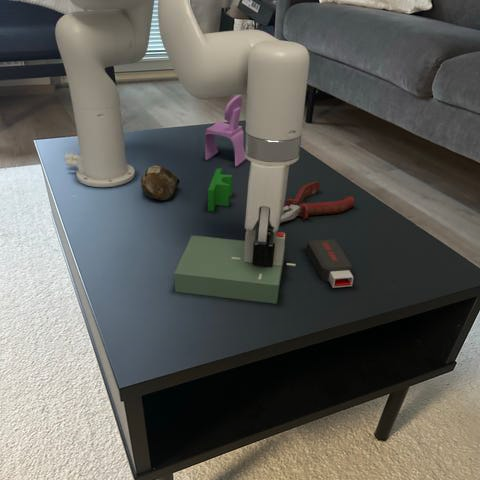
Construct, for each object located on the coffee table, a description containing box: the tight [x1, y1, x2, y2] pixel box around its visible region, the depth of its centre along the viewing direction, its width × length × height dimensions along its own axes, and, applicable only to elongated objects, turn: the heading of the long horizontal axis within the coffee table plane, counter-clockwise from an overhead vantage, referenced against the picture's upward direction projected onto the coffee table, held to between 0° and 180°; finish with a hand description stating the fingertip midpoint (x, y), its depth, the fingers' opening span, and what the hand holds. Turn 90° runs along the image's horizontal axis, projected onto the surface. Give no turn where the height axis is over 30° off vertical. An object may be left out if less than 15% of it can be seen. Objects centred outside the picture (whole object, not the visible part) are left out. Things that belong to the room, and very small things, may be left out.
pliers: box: [280, 181, 356, 224], centre depth 101 cm, size 12×20×3 cm, turn 133°
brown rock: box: [140, 165, 181, 201], centre depth 104 cm, size 8×7×10 cm
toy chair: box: [204, 94, 247, 167], centre depth 118 cm, size 8×9×15 cm
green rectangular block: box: [173, 234, 297, 305], centre depth 81 cm, size 18×12×4 cm, turn 81°
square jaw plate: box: [244, 229, 286, 266], centre depth 78 cm, size 6×2×5 cm, turn 81°
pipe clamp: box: [207, 167, 233, 212], centre depth 103 cm, size 11×4×5 cm, turn 173°
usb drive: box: [305, 238, 355, 289], centre depth 84 cm, size 5×12×3 cm, turn 10°
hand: (263, 260), depth 79 cm, fingers closed on square jaw plate
